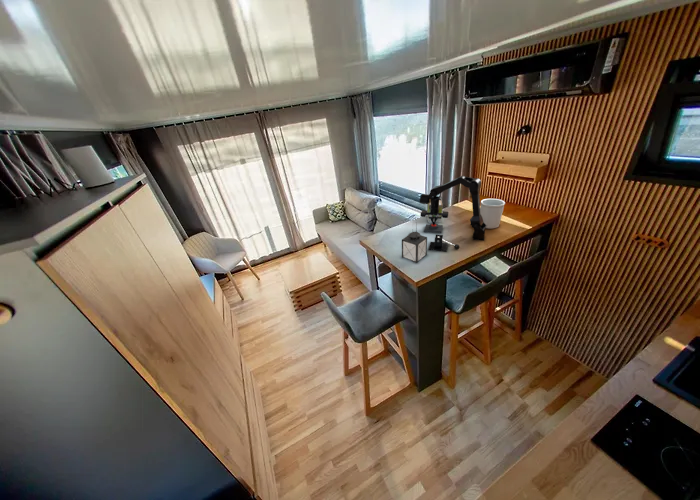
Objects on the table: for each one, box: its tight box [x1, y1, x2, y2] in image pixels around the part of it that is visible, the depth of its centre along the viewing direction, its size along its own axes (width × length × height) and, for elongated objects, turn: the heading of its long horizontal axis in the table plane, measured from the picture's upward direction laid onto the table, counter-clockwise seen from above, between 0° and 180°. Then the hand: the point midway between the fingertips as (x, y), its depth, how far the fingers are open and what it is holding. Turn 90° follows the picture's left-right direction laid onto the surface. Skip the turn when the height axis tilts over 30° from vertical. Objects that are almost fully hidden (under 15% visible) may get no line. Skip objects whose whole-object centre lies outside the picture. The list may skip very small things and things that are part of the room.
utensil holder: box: [480, 198, 506, 229], centre depth 179 cm, size 15×15×18 cm
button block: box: [423, 223, 444, 234], centre depth 185 cm, size 12×10×4 cm
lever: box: [437, 236, 460, 250], centre depth 160 cm, size 15×3×3 cm, turn 68°
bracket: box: [428, 234, 449, 253], centre depth 163 cm, size 11×10×8 cm
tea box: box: [426, 199, 443, 224], centre depth 199 cm, size 15×10×15 cm
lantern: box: [401, 214, 428, 264], centre depth 152 cm, size 11×11×28 cm
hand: (433, 224), depth 184 cm, fingers closed, pressing on button
